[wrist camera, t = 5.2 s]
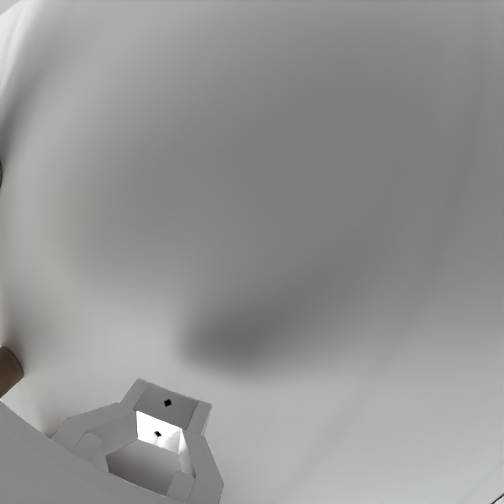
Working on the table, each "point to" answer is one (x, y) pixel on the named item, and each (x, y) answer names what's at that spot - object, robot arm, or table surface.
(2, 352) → the post
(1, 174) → the post
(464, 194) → the table surface
